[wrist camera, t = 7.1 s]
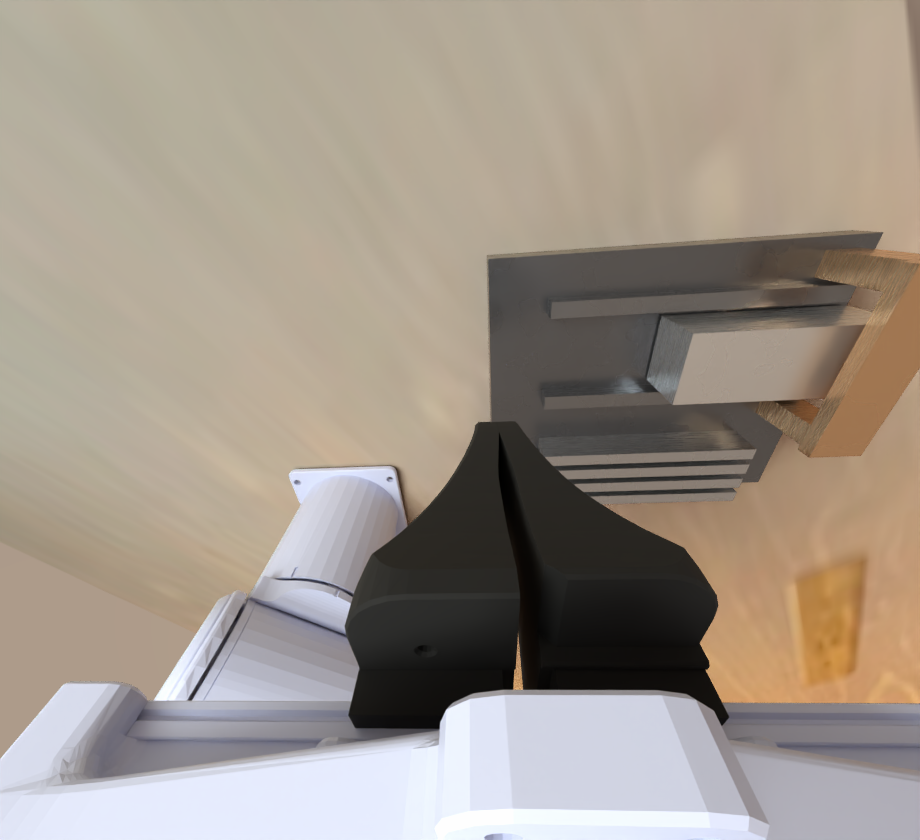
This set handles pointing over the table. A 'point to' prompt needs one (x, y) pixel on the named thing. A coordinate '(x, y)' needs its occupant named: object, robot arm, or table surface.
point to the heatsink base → (632, 343)
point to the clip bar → (753, 354)
